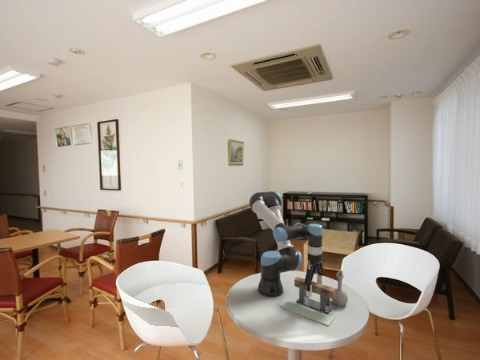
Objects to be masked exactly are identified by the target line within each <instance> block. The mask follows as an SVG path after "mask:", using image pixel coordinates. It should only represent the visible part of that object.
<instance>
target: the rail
mask: <svg viewBox="0 0 480 360" xmlns="http://www.w3.org/2000/svg"><path fill="white" fill-rule="evenodd" d="M293 281H294V284H293V285H294V287H296V288H298V289H299V284H301V285H304V286H305V290H306V285H305V284H304V282H305V278H302V277H300V276H297V277H295V278H294V280H293ZM311 285H312V294H313V293H314V294H316V295H319V296H320V291H323V292H326V297H328V298H330V300H332V299H334V298H335V297H336V288H337V287H336V288H335V287H332V286H328V285H326V284H323V283H322V284H319V283H317V281H316V282H315V281H313V280H312V283H311Z"/></svg>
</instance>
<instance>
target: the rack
mask: <svg viewBox="0 0 480 360" xmlns="http://www.w3.org/2000/svg"><path fill="white" fill-rule="evenodd" d="M298 290H299V291H298V299H296V300H295V301H296V302H295V303H298V304H300V305H303V306H306V307H308V308H311V309H313V310H316V311H319V312H321V313H324V314H327V315H329V314H330V312H331V311H332V310H333V309H334V306H332V305H331V298H328V297H326V292H323V291H320V295H319V301H318V300H315V299H312V298H311V297H308V296H306V290H305V286H304V285H301V284H299V288H298Z"/></svg>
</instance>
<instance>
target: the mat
mask: <svg viewBox="0 0 480 360" xmlns="http://www.w3.org/2000/svg"><path fill="white" fill-rule="evenodd" d="M280 307H281V308H283V309H286V310H288V311H289V312H293V313H295V314H297V315H300V316H303V317H304V318H306V319H307V318H308V319H310V320H312V321H315V322H317V323H319V324H322V325H324V326H326V327H330V326H331V324H333V322H334V321H335V319H336V317H334V316H331V315H329V314H326V313H323V312H321V311H318V310H316V309H313V308H310V307H308V306H305V305H302V304H300V303H297V302H295V301H292V300H290V299H288V300H287V301H286V302H283V304H281V306H280Z"/></svg>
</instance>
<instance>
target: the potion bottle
mask: <svg viewBox="0 0 480 360" xmlns="http://www.w3.org/2000/svg"><path fill="white" fill-rule="evenodd" d="M343 273H344V272H343V270H339V271H337V273H336V278H337V287H336V297H335V298H334V299H331V300H332V303H333V304H334V305H335V306H337V307H345V306H346V305H347V304H348V301H349V297H348V293H347V291H346V290H345V289H343V279H344V274H343Z"/></svg>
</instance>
